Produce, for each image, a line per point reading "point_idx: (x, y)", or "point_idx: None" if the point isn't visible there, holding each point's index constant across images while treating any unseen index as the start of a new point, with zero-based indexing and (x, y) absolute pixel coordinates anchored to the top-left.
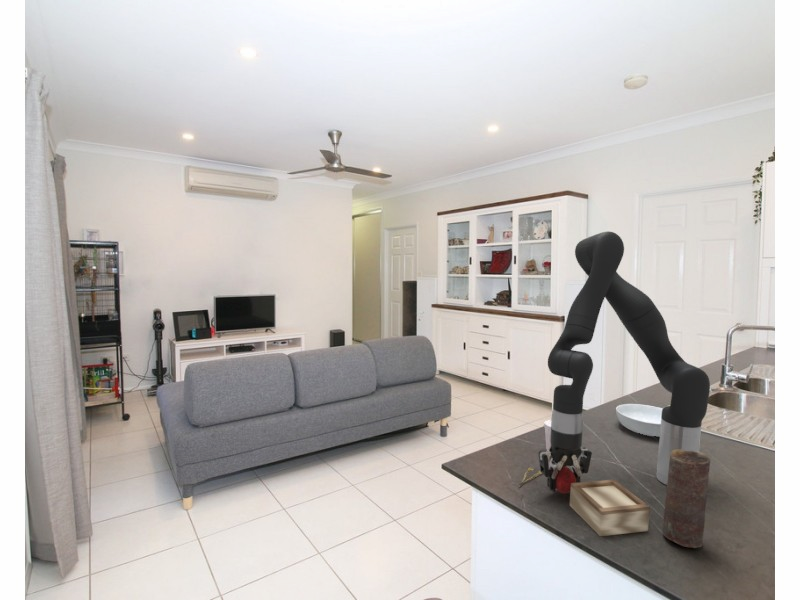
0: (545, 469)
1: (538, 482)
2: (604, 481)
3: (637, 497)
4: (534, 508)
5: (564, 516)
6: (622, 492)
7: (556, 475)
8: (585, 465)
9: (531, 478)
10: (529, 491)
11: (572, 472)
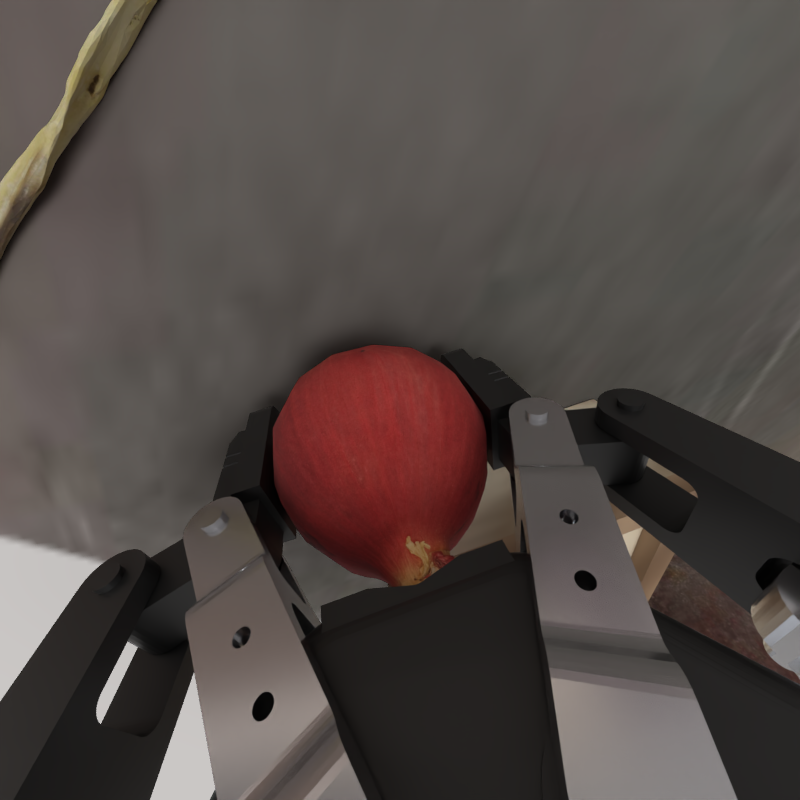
0: (131, 725)
1: (167, 210)
2: (632, 521)
3: (653, 591)
4: (159, 540)
5: (314, 547)
6: (637, 547)
7: (302, 536)
8: (656, 535)
9: (59, 135)
10: (92, 385)
11: (474, 515)
